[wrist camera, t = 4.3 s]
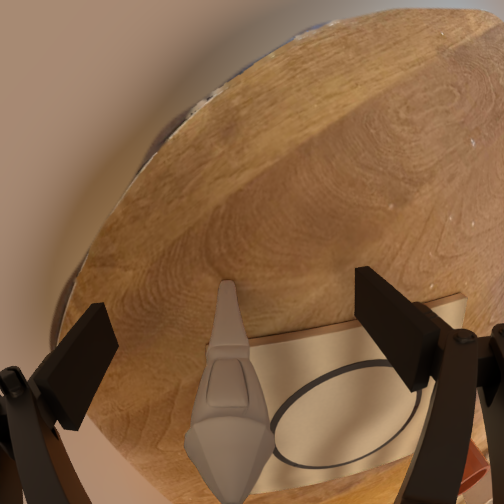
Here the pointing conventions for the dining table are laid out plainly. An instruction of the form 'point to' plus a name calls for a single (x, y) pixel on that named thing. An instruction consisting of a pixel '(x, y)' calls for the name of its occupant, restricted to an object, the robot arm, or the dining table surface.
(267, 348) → the drawing board
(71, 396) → the robot arm
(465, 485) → the pen pot
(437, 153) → the dining table surface
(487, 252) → the dining table surface
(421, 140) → the dining table surface
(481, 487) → the dixie cup
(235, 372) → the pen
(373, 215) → the dining table surface
